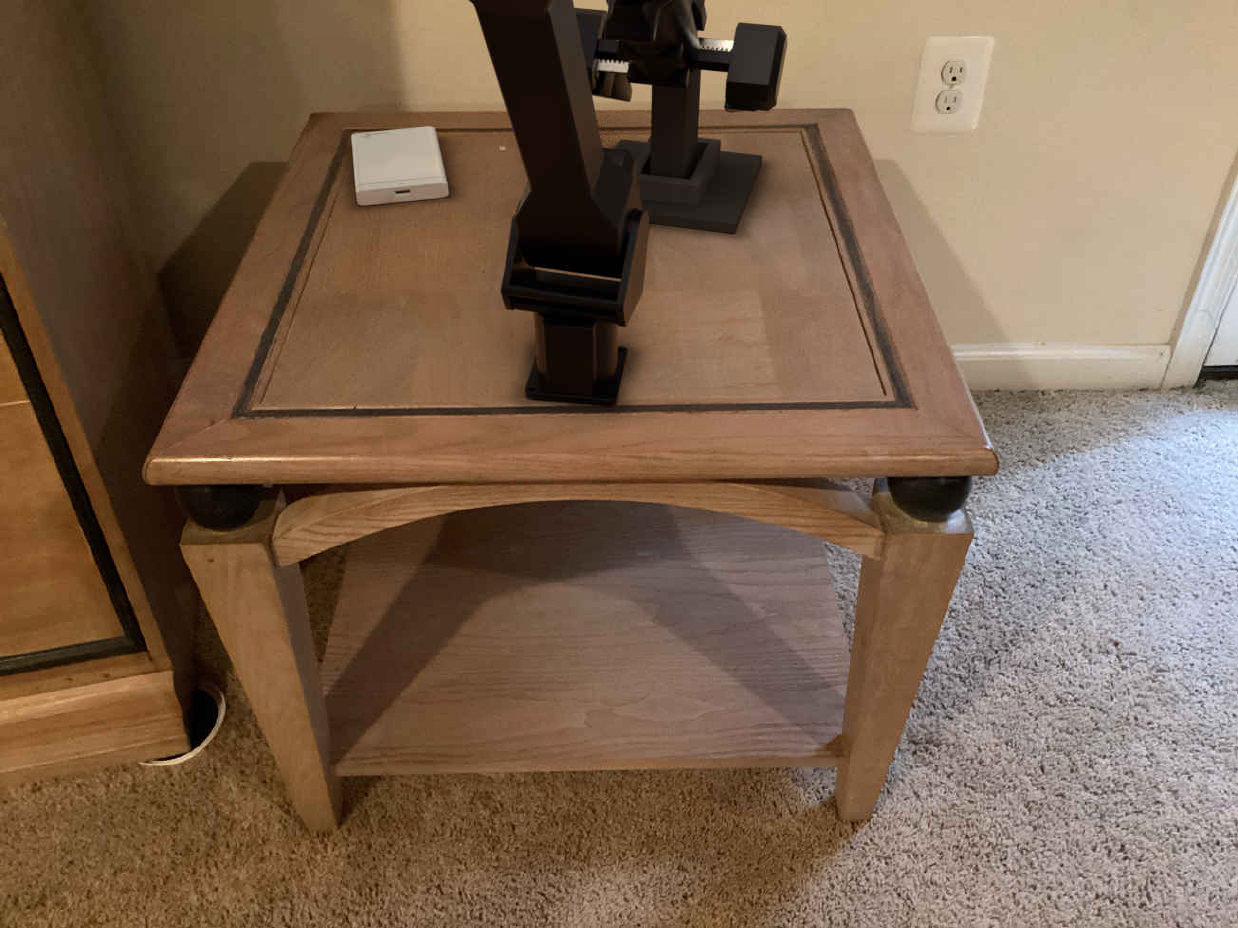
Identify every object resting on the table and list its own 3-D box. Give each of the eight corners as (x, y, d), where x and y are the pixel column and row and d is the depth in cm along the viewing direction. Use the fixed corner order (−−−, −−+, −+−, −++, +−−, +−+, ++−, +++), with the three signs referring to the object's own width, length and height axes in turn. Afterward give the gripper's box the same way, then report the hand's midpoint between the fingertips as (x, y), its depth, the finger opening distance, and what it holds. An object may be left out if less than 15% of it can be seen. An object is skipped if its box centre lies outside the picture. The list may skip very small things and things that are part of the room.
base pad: (761, 165, 102) (764, 134, 100) (734, 234, 92) (737, 202, 90) (620, 148, 105) (620, 119, 103) (578, 214, 95) (577, 182, 93)
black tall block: (696, 166, 100) (702, 40, 92) (682, 195, 95) (687, 65, 88) (665, 162, 100) (668, 37, 93) (649, 191, 96) (652, 62, 88)
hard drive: (350, 133, 104) (354, 189, 95) (435, 125, 105) (447, 180, 96) (353, 149, 105) (358, 206, 96) (437, 141, 106) (449, 197, 97)
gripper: (797, -83, 78) (801, 23, 93) (552, -100, 81) (595, 5, 97) (770, 64, 77) (778, 147, 92) (524, 41, 81) (572, 124, 96)
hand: (679, 101), depth 94 cm, fingers open, 9 cm apart
